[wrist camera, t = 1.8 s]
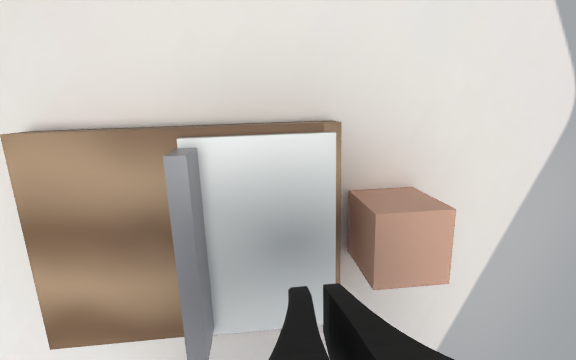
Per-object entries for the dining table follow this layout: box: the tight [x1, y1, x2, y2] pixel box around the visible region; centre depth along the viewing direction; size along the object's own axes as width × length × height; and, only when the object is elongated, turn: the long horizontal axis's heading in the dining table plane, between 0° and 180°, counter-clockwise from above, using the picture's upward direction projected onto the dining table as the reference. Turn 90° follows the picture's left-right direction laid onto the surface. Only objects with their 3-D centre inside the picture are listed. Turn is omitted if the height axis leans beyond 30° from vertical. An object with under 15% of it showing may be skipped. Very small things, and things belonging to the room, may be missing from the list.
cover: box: [163, 132, 336, 360], centre depth 17 cm, size 12×8×4 cm
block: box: [348, 187, 456, 290], centre depth 20 cm, size 4×4×5 cm
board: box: [0, 121, 341, 350], centre depth 20 cm, size 13×18×2 cm
